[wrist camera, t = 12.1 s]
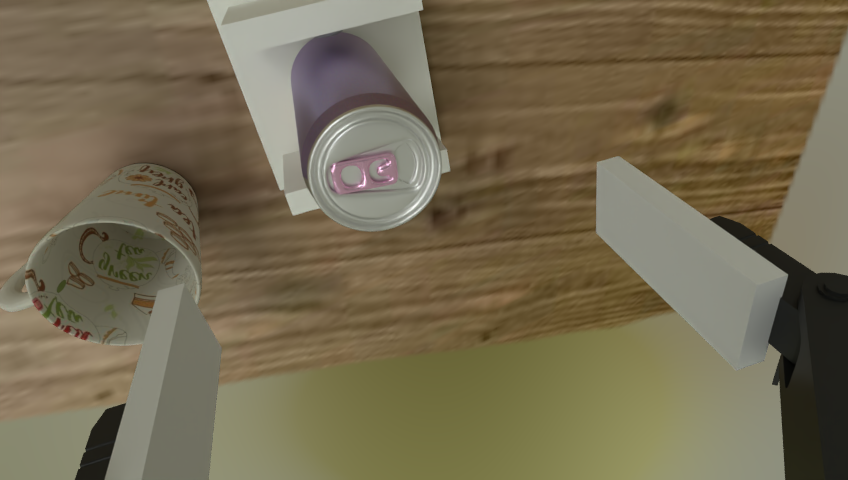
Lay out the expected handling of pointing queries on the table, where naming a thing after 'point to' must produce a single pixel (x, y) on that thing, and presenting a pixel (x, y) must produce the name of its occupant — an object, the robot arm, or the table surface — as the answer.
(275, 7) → the holder
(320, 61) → the beverage can
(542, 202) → the table surface
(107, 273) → the mug
